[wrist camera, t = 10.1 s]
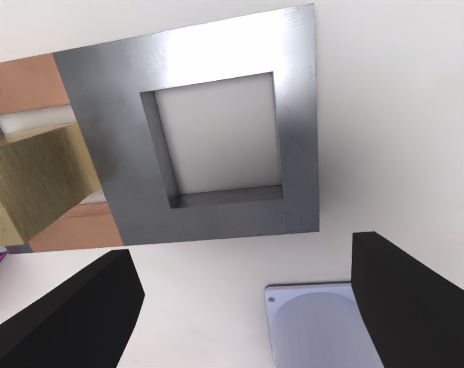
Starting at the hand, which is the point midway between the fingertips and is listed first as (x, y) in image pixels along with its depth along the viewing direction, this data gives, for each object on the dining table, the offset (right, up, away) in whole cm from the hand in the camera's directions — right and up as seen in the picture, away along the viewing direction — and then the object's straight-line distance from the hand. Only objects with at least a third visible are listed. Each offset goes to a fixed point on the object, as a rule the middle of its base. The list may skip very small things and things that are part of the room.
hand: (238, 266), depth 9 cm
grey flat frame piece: (-6, +5, +9) cm, 12 cm away
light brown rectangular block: (-12, +4, +10) cm, 16 cm away
